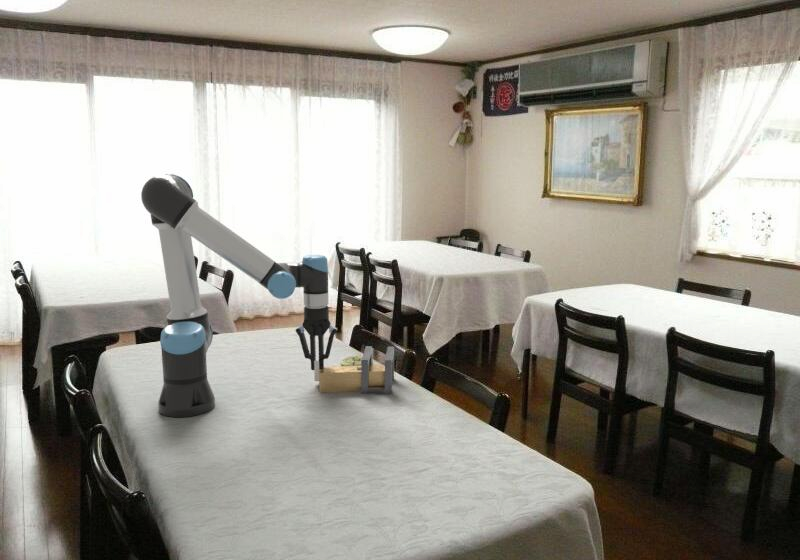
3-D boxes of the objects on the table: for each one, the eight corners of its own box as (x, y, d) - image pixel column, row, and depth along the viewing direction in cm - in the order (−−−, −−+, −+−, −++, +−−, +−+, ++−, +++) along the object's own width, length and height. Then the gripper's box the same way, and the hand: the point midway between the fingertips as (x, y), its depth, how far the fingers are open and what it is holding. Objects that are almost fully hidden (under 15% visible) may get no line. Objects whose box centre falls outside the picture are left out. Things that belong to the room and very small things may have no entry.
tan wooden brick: (319, 392, 197) (318, 372, 195) (319, 385, 202) (319, 366, 201) (385, 389, 199) (385, 370, 198) (383, 383, 205) (383, 364, 204)
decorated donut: (334, 368, 220) (334, 357, 219) (361, 362, 227) (360, 352, 226) (352, 376, 212) (352, 365, 211) (378, 369, 218) (378, 359, 218)
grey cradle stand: (391, 394, 195) (391, 360, 193) (361, 393, 196) (361, 359, 194) (393, 378, 209) (394, 346, 208) (366, 377, 210) (365, 346, 208)
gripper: (338, 303, 202) (339, 376, 207) (297, 303, 203) (299, 375, 207) (335, 308, 195) (336, 384, 199) (292, 308, 195) (294, 383, 200)
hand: (317, 379), depth 203 cm, fingers closed
